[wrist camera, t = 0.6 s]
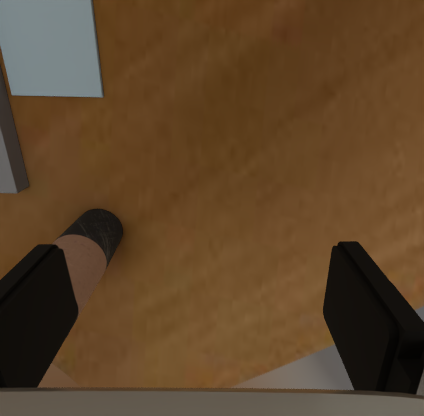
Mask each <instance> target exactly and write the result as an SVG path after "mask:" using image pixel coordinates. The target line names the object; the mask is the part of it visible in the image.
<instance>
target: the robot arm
mask: <svg viewBox="0 0 424 416" xmlns="http://www.w3.org/2000/svg"><path fill="white" fill-rule="evenodd" d="M323 315H324V319H325V321H326V324H327V326H328V328H329V331H330V333H331V335H332V338H333V340H334V343H335V345H336V347H337V350H338V352H339V354H340V357H341V359H342V361H343V364H344V366H345V369H346V371H347V373H348V376H349V378H350V380H351V383H352V385H353V388H354V390H324V389H323V390H321V389H253V388H37V387H38V385H39V383H40V382H41V380H42V378H43V376H44V375H45V373H46V371H47V369H48V368H49V366H50V364H51V363H52V361H53V359H54V357H55V356H56V354H57V352H58V350H59V349H60V347H61V345H62V344H63V342H64V340H65V338H66V337H67V335H68V333H69V331H70V330H71V328H72V326H73V324H74V323H75V321H76V319H77V316H78V306H77V302H76V298H75V294H74V290H73V286H72V282H71V278H70V274H69V270H68V266H67V262H66V258H65V254H64V251H63V249H61V248H59V247H58V246H57V245H56V244H40V245H37V246H36V247H35V248H34V249H33V250H31V251H30V252H29V253H28V254H27V255H26V256H25V257H24V258H23V259H22V260H21V261H20V262H19V263H18V264H17V265H16V266H15V267H14V268H13V269H12V270H10V271H9V272H8V273H7V274H6V275H5V276H4V277H3V278H2V279H1V280H0V416H424V322H423V321H422V320H421V318H420V317H419V316H418V314H417V313H416V312H415V311H414V309H413V308H412V307H411V306H410V305H409V303H408V302H407V301H406V300H405V298H404V297H403V296H402V295H401V293H400V292H399V291H398V290H397V289H396V287H395V286H394V285H393V284H392V283H391V282H390V281H389V280H388V278H387V277H386V276H385V275H384V273H383V272H382V271H381V270H380V268H379V267H378V266H377V265H376V263H375V262H374V261H373V260H372V258H371V257H370V256H369V255H368V254H367V252H366V251H365V250H364V249H363V247H362V246H361V245H360V244H359V243H358V242H356V241H351V242H339V243H338V245H337V246H333V248H332V252H331V259H330V266H329V272H328V279H327V286H326V292H325V299H324V306H323Z"/></svg>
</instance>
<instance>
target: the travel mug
mask: <svg viewBox="0 0 424 416" xmlns="http://www.w3.org/2000/svg"><path fill="white" fill-rule="evenodd" d="M122 234H123V229H122V225H121V223H120V221H119V220H118V218H117V217H116V216H115V215H114V214H112V213H111V212H109V211H106V210H103V209H92V210H89V211H87V212H85V213H84V214H83V215H81V216H80V217H79V218H78V219H77V220H76V221H75V222H74V223H73V224H72V225H71V226H70V227H69V228H68V229H67V230H66V231H65V232H64V233H63V234H62V235H61V236H60V237H58V238H57V239H56V241H54V243H53V244H56V245H57V246H58V247H59V248H61V249H63V251H64V254H65V258H66V262H67V266H68V270H69V274H70V278H71V282H72V286H73V290H74V294H75V298H76V302H77V306H78V316H79V315H80V313H81V311H82V309H83V308H84V306H85V304H86V303H87V301H88V299H89V297H90V296H91V294H92V292H93V291H94V289H95V287H96V286H97V284H98V282H99V280H100V279H101V277H102V275H103V274H104V272H105V270H106V268H107V266H108V264H109V262H110V260H111V258H112V256H113V254H114V252H115V250H116V248H117V246H118V244H119V242H120V240H121V238H122ZM78 316H77V318H78ZM76 320H77V319H76ZM73 325H74V324H73ZM72 327H73V326H72ZM69 332H70V331H69ZM68 334H69V333H68ZM67 336H68V335H67Z"/></svg>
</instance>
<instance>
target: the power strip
mask: <svg viewBox="0 0 424 416" xmlns="http://www.w3.org/2000/svg"><path fill="white" fill-rule="evenodd" d="M28 186H29V183H28V179H27V175H26V170H25V166H24V162H23V158H22V154H21V150H20V145H19V141H18V137H17V133H16V129H15V124H14V120H13V116H12V112H11V108H10V104H9V99H8V95H7V91H6V87H5V83H4V78H3V74H2V70H1V66H0V193H19V192H20V191H22V190H23V189H25V188H27V187H28Z"/></svg>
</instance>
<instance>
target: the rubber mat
mask: <svg viewBox="0 0 424 416" xmlns="http://www.w3.org/2000/svg"><path fill="white" fill-rule="evenodd" d="M0 46H1V50H2V54H3V59H4V63H5V67H6V72H7V76H8V80H9V84H10V89H11V93H12V95H27V96H72V97H104V93H103V85H102V76H101V68H100V59H99V51H98V42H97V34H96V25H95V17H94V9H93V0H0Z"/></svg>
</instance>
